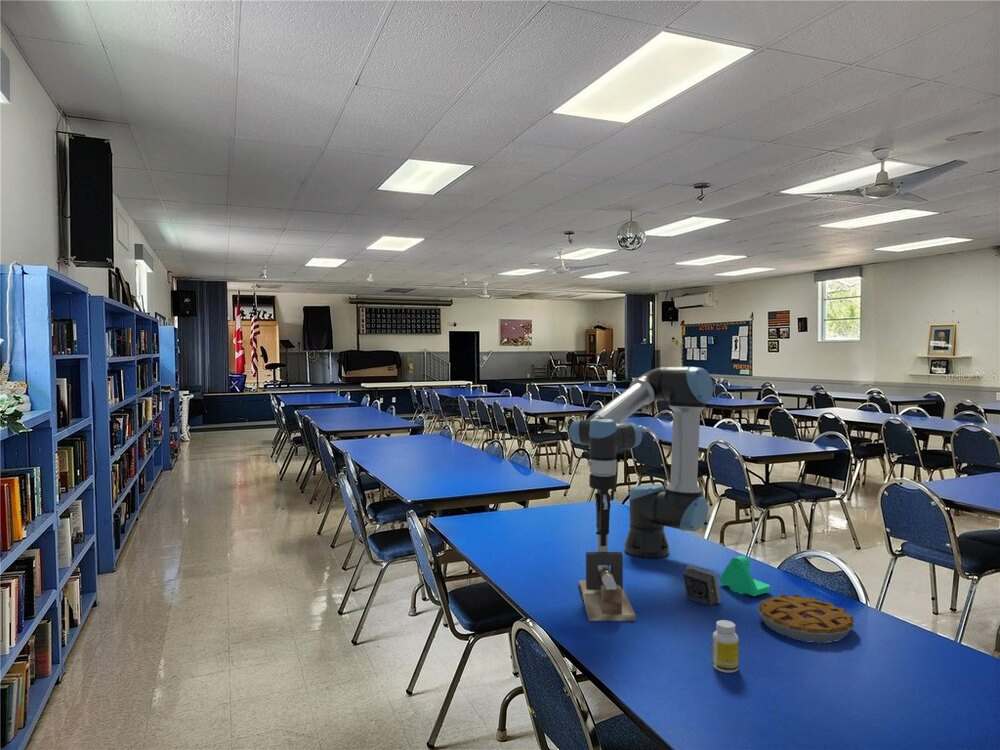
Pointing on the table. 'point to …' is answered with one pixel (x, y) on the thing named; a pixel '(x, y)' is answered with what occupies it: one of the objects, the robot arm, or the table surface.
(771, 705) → the table surface
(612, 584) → the pipe
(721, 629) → the supplement bottle
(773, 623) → the pie
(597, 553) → the collar
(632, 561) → the table surface
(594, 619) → the pipe stand
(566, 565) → the table surface
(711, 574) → the electrical switch
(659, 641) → the table surface
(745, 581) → the camera mount
